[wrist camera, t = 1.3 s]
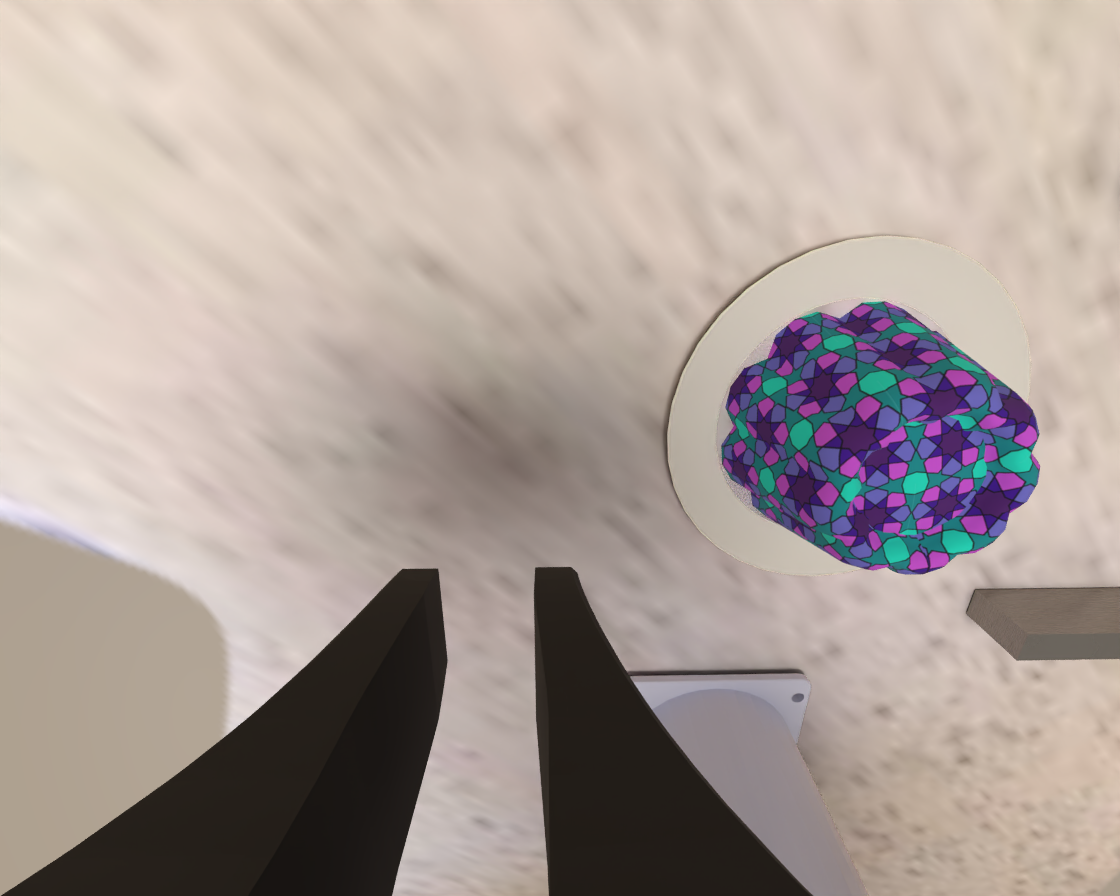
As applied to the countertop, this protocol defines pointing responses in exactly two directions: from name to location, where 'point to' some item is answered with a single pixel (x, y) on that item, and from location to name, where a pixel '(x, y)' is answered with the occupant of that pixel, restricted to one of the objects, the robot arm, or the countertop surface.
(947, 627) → the countertop surface
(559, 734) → the robot arm
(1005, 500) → the pudding
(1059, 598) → the grey u-shaped frame
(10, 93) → the countertop surface
